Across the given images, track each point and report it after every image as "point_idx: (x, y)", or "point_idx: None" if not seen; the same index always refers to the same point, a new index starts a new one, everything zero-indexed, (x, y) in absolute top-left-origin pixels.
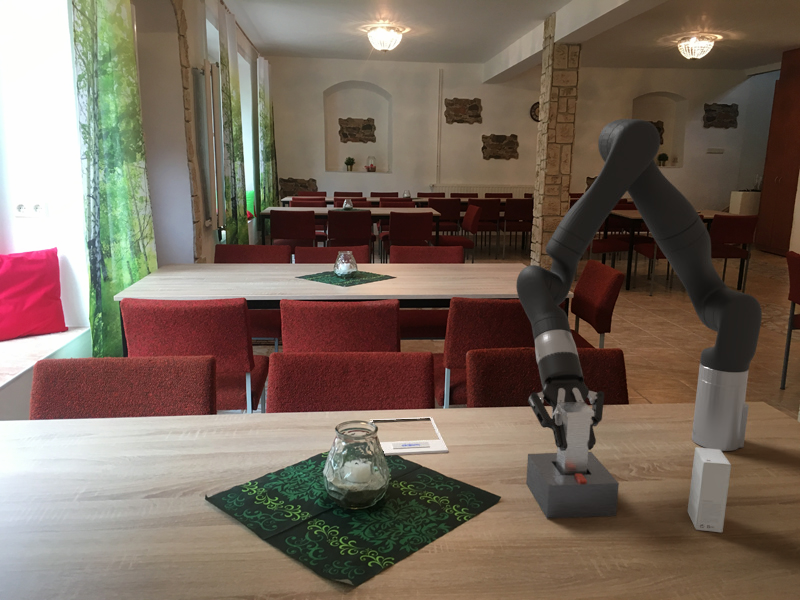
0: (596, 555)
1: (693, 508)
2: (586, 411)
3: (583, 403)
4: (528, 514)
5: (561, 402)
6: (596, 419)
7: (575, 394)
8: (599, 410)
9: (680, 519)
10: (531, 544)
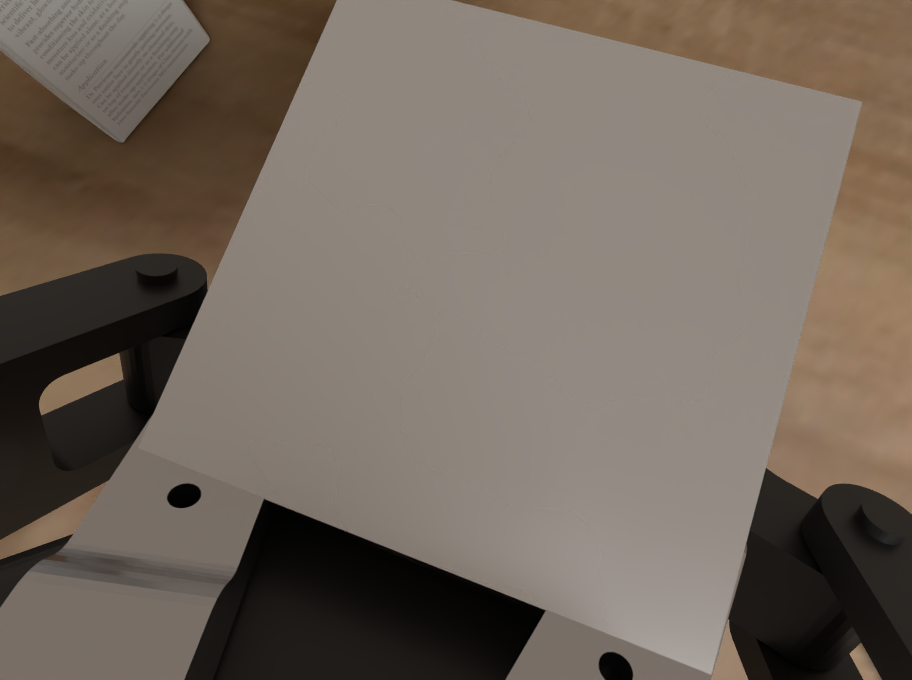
0: (686, 43)
1: (142, 43)
2: (464, 29)
3: (218, 370)
4: (788, 389)
5: (623, 616)
6: (199, 278)
7: (168, 627)
8: (36, 315)
9: (196, 115)
10: (904, 186)
